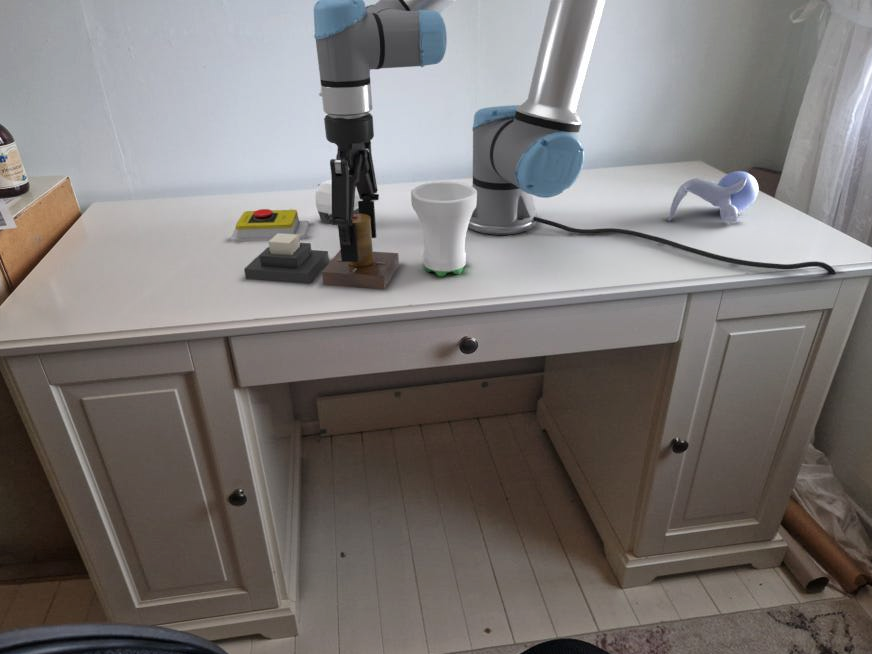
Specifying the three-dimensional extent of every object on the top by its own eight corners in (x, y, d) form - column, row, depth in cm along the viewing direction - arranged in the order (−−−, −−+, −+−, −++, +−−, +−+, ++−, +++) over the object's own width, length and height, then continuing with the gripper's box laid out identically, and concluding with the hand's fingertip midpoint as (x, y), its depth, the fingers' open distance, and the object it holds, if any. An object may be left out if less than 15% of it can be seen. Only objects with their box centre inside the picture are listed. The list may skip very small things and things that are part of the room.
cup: (480, 258, 117) (482, 182, 109) (470, 284, 108) (471, 203, 100) (421, 254, 119) (419, 179, 111) (406, 279, 110) (403, 199, 102)
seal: (761, 232, 133) (679, 240, 128) (733, 192, 140) (653, 198, 135) (785, 202, 126) (699, 209, 121) (754, 161, 133) (671, 166, 128)
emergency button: (236, 205, 132) (307, 203, 132) (239, 225, 134) (310, 223, 134) (225, 220, 124) (301, 218, 124) (229, 241, 126) (304, 239, 126)
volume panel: (399, 265, 115) (398, 252, 113) (384, 289, 107) (383, 275, 105) (341, 261, 117) (340, 248, 115) (323, 285, 109) (321, 270, 107)
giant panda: (314, 221, 135) (309, 177, 130) (329, 213, 139) (324, 170, 134) (371, 232, 129) (368, 186, 124) (386, 223, 133) (383, 178, 128)
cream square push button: (300, 247, 114) (298, 234, 112) (291, 256, 110) (289, 242, 109) (279, 246, 114) (277, 233, 113) (270, 255, 111) (268, 241, 110)
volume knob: (376, 257, 112) (373, 212, 107) (369, 267, 108) (365, 221, 104) (352, 256, 112) (348, 211, 108) (345, 266, 109) (340, 220, 104)
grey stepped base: (329, 260, 117) (326, 240, 115) (309, 284, 109) (306, 262, 107) (269, 256, 119) (265, 236, 117) (245, 279, 111) (241, 258, 109)
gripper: (348, 99, 107) (358, 224, 119) (297, 129, 88) (316, 274, 100) (390, 100, 106) (397, 226, 118) (348, 131, 87) (361, 277, 99)
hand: (359, 248), depth 109 cm, fingers open, 10 cm apart
